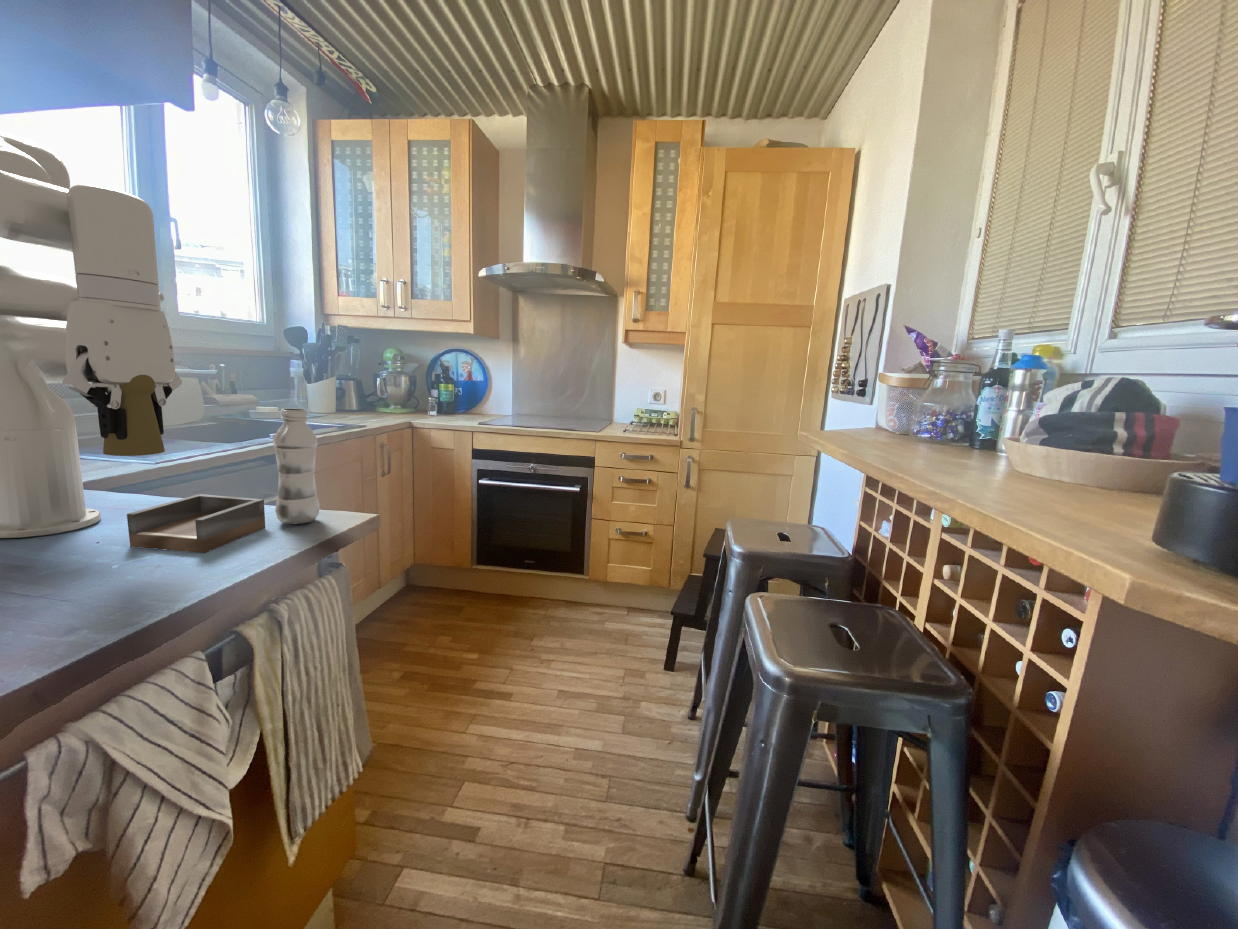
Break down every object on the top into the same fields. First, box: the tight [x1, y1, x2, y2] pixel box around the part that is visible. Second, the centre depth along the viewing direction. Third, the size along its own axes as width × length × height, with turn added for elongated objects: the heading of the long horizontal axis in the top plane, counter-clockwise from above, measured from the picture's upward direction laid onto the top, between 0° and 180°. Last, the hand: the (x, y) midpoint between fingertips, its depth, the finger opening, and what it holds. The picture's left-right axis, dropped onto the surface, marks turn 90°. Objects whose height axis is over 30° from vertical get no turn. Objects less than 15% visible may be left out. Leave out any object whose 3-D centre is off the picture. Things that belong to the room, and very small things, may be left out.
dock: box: [126, 493, 266, 554], centre depth 77 cm, size 11×12×5 cm
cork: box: [102, 375, 166, 457], centre depth 66 cm, size 6×6×11 cm
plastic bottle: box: [272, 407, 320, 525], centre depth 85 cm, size 6×7×20 cm
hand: (133, 434), depth 67 cm, fingers closed on cork, 4 cm apart
